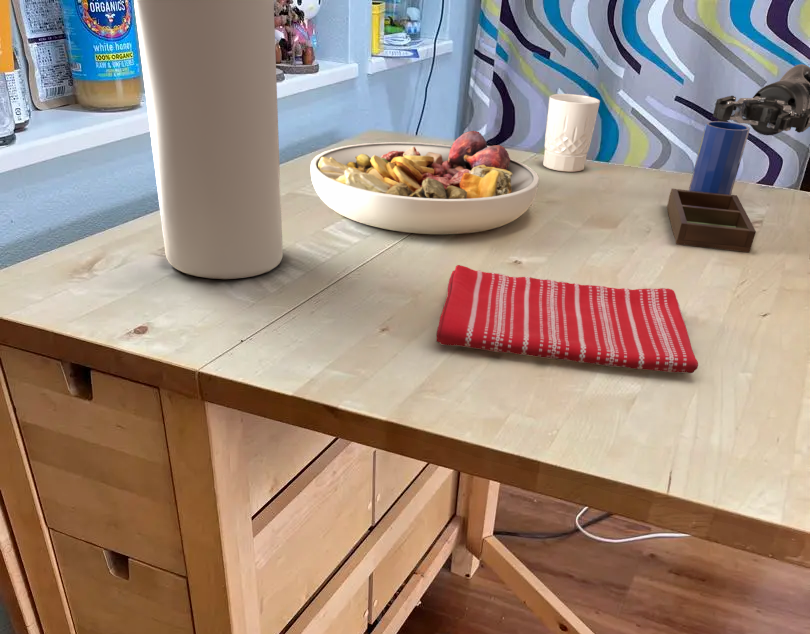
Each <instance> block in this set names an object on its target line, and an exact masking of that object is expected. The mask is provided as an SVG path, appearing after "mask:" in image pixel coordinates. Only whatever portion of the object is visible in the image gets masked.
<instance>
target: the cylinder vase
mask: <svg viewBox="0 0 810 634" xmlns="http://www.w3.org/2000/svg"><path fill="white" fill-rule="evenodd" d="M133 3H134V12H135V20H136V27H137V29H136V30H137V35H138V43H139V51H140V52H139V53H140V60H141V68H142V76H143V84H144V91H145V101H146V107H147V108H146V109H147V116H148V124H149V132H150V140H151V149H152V156H153V165H154V171H155V172H154V173H155V180H156V181H155V182H156V187H157V196H158V197H157V198H158V204H159V214H160V219H161V229H162V236H163V245H164V252H165V258H166V260H167V262H168V263H169V264H170V266H171V267H173V268H174V269H176V270H177V271H179V272H182V273H184V274H186V275H190V276H194V277H198V278H204V279H215V280H237V279H246V278H250V277H256V276H260V275H263V274H266V273H268V272H271V271H273V269H275V268H276V267H278V265H280V263H281V262H282V259H283V255H284V250H283V223H282V222H283V220H282V195H281V194H282V193H281V192H282V191H281V167H280V166H281V165H280V140H279V137H280V136H279V114H278V113H279V112H278V109H279V108H278V86H277V84H278V83H277V81H278V80H277V60H276V59H277V57H276V56H277V55H276V53H277V52H276V32H275V31H276V29H275V27H276V26H275V5H274V3H275V2H274V0H133Z"/></svg>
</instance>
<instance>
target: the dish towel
mask: <svg viewBox="0 0 810 634" xmlns="http://www.w3.org/2000/svg"><path fill="white" fill-rule="evenodd" d="M446 295H447V296H446V298H445V301H444V305H443V308H442V310H441V311H442V312H441V314H440V317H439V320H438V326H437V330H436V342H437V343H439V344H440V345H443V346H448V347H449V346H451V347H452V346H453V347H454V346H456V347H457V346H458V347H464V348H466V349H467V348H468V349H475V350H481V351H482V350H483V351H488V352H489V351H490V352H493V353H494V352H495V353H507V354H514V355H520V356H529V357H530V356H531V357H536V358H542V359H543V358H544V359H550V360H561V361H572V362H576V363H579V364H580V363H582V364H583V363H585V364H591V365H598V366H604V367H609V368H611V367H612V368H617V367H618V368H623V369H625V368H627V369H634V370H642V371H643V370H647V371H653V372H664V373H681V374H683V373H687V374H693V373H694V372H696V371H697V369H698V367H699V360H698V359H697V358H696V356H695V353H694V351H693V347H692V343H691V340H690V335H689V333H688V329H687V326H686V322H685V319H684V317H683V313H682V309H681V305H680V302H679V301H678V299H677V295H676V292H675V290H674V289H671V288H664V287H662V288H661V287H660V288H647V287H646V288H637V289H630V288H629V287H623V288H616V287H609V286H605V285H594V284H593V285H591V284H580V283H577V282H576V283H575V282H573V283H571V282H566V281H557V280H553V279H548V278H547V279H543V278H535V277H530V276H509V275H506V274H502V273H497V272H486V271H482V270H475V269H472V268H470V267H468V266H464V265H461V264H457V265H456V266H455V269H454V270H452V271H451V274H450V277H449V280H448V283H447V294H446Z"/></svg>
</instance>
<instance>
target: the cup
mask: <svg viewBox="0 0 810 634" xmlns="http://www.w3.org/2000/svg"><path fill="white" fill-rule="evenodd" d="M703 128H704V129H703V133H702V137H701V140H700V144H699V148H698V152H697V155H696V160H695V164H694V167H693V172H692V175H691V180H690V183H689V187H688V190H690V191H700V192H709V193H719V194H728V195H732V193H733V189H734V186H735V183H736V178H737V176H738V172H739V168H740V165H741V162H742V158H743V154H744V150H745V148H746V143H747V140H748V137H749V134H750V130H751V128H750V127H749V126H747V125H745V124H742V123H736V122H730V121H726V122H721V121H718V120H717V121H716V120H714V121H713V120H712V121H706V123H705V126H704V127H703Z"/></svg>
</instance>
